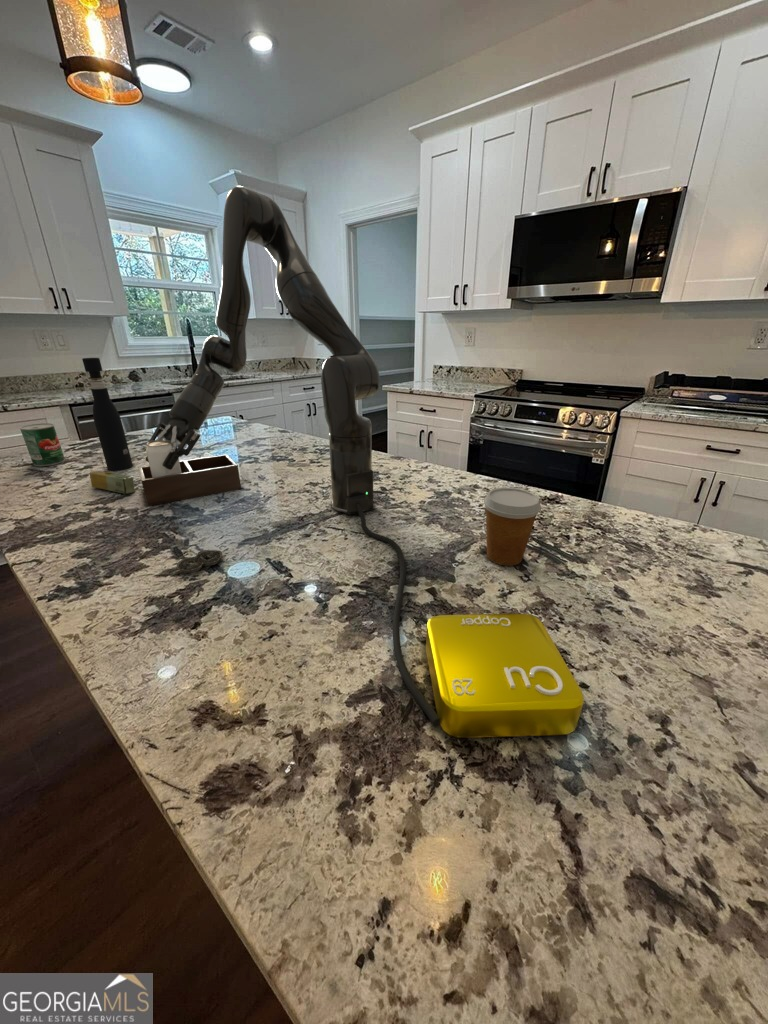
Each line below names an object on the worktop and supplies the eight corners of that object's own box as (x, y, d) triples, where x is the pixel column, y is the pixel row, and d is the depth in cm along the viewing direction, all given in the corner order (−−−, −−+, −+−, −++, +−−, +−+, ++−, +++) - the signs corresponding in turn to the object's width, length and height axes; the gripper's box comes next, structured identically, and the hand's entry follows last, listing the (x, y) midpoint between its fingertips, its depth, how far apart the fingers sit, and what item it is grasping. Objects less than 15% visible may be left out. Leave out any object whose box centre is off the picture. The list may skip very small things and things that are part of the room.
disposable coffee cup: (493, 574, 71) (502, 510, 66) (469, 547, 80) (475, 489, 74) (542, 566, 74) (554, 504, 68) (513, 541, 82) (522, 484, 77)
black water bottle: (109, 465, 123) (78, 357, 111) (133, 462, 126) (106, 356, 113) (106, 471, 118) (73, 359, 105) (132, 468, 120) (103, 358, 108)
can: (189, 485, 106) (180, 439, 101) (175, 495, 100) (164, 446, 95) (165, 484, 106) (155, 438, 101) (150, 493, 101) (138, 445, 96)
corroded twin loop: (171, 568, 72) (170, 563, 72) (214, 551, 78) (213, 546, 77) (185, 579, 69) (183, 573, 69) (229, 560, 75) (228, 555, 74)
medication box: (136, 491, 105) (133, 476, 103) (126, 494, 102) (124, 478, 101) (100, 484, 108) (98, 469, 107) (90, 487, 106) (87, 471, 104)
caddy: (241, 488, 107) (237, 465, 104) (147, 506, 97) (141, 480, 94) (230, 475, 115) (227, 454, 113) (143, 490, 105) (137, 467, 102)
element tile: (532, 637, 57) (537, 608, 55) (583, 736, 43) (593, 703, 41) (423, 639, 57) (425, 610, 55) (440, 740, 43) (443, 707, 41)
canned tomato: (39, 459, 128) (27, 424, 123) (69, 457, 130) (58, 422, 125) (28, 467, 121) (14, 430, 116) (59, 465, 123) (47, 428, 119)
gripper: (163, 395, 103) (127, 452, 99) (199, 400, 96) (161, 462, 92) (187, 412, 110) (154, 467, 106) (222, 419, 103) (188, 478, 99)
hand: (157, 464), depth 99 cm, fingers open, 6 cm apart
